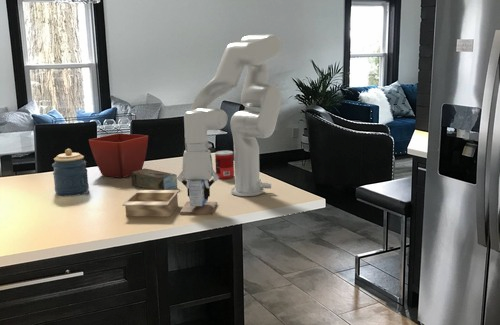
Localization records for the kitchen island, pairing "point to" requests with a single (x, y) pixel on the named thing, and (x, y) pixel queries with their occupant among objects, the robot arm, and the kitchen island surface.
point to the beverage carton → (154, 179)
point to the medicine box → (197, 193)
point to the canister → (70, 174)
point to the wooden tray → (152, 203)
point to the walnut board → (198, 209)
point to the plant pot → (119, 153)
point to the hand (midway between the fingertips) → (198, 197)
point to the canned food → (224, 164)
